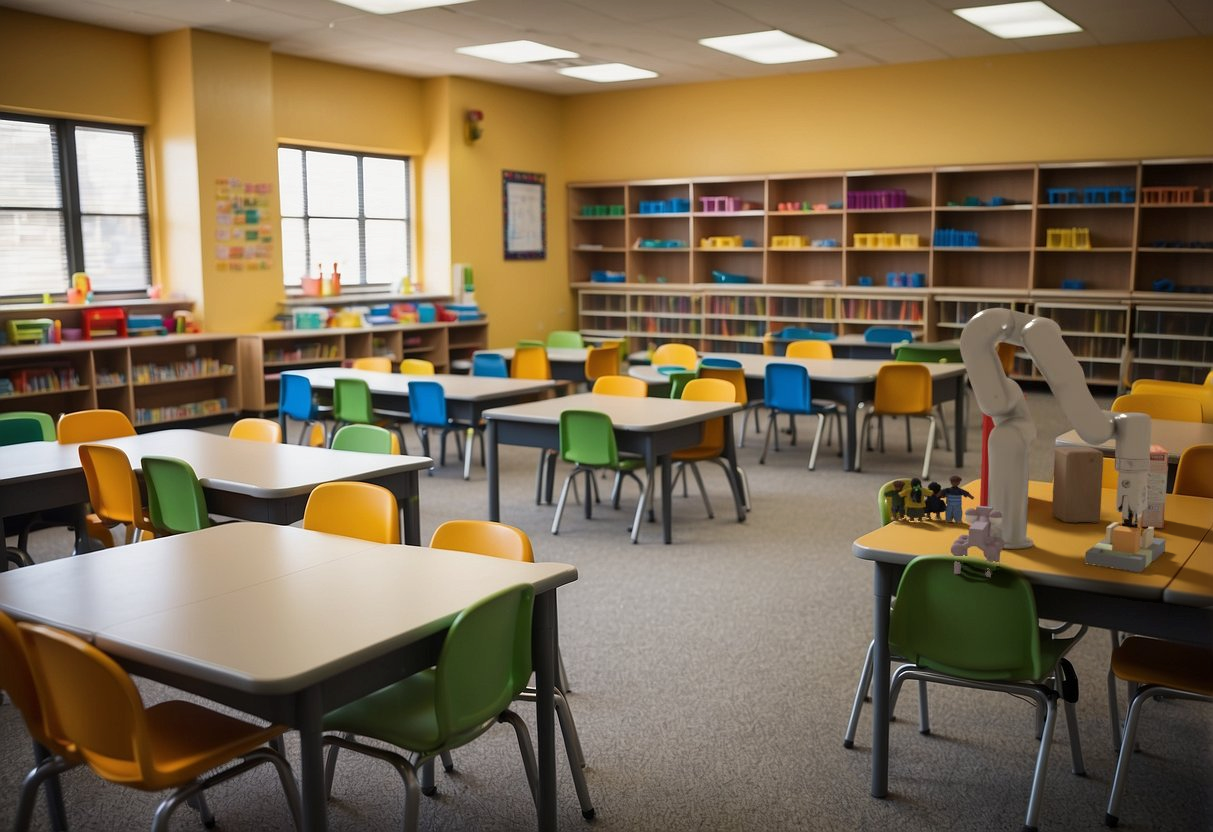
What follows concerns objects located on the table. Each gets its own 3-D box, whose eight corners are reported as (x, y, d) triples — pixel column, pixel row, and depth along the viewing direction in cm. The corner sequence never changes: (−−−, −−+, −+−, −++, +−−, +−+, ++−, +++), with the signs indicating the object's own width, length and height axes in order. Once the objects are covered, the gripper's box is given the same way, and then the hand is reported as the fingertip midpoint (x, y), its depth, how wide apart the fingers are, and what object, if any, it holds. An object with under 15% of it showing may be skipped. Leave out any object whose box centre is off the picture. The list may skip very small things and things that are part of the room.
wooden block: (1101, 523, 296) (1105, 451, 293) (1064, 523, 296) (1068, 451, 293) (1086, 515, 306) (1089, 445, 303) (1050, 515, 306) (1053, 445, 303)
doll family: (963, 516, 306) (964, 470, 304) (975, 524, 297) (976, 476, 295) (882, 518, 305) (883, 471, 303) (891, 525, 296) (892, 477, 294)
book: (994, 493, 337) (998, 391, 333) (1021, 495, 333) (1026, 392, 329) (979, 510, 314) (982, 401, 309) (1008, 512, 310) (1012, 402, 306)
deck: (1140, 572, 248) (1141, 542, 247) (1085, 564, 255) (1086, 535, 254) (1165, 551, 266) (1166, 523, 265) (1113, 543, 274) (1114, 516, 273)
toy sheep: (961, 553, 266) (966, 499, 264) (1007, 560, 261) (1012, 505, 259) (946, 573, 249) (951, 516, 246) (995, 581, 244) (1000, 523, 242)
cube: (1134, 553, 253) (1135, 532, 252) (1112, 550, 256) (1113, 529, 255) (1140, 549, 257) (1141, 528, 256) (1117, 545, 260) (1118, 525, 259)
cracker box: (1165, 529, 288) (1169, 452, 285) (1140, 528, 290) (1144, 451, 287) (1157, 518, 301) (1161, 444, 299) (1133, 516, 303) (1137, 443, 301)
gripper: (1141, 470, 250) (1138, 548, 252) (1156, 461, 261) (1153, 535, 263) (1106, 467, 254) (1103, 543, 257) (1123, 458, 266) (1120, 531, 268)
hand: (1129, 539), depth 260 cm, fingers closed
